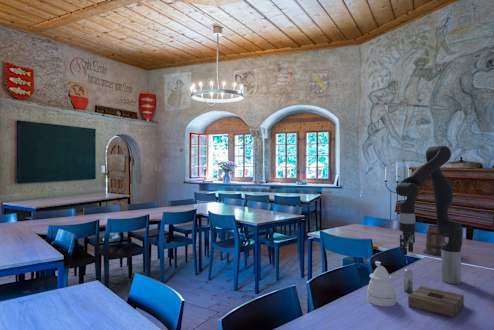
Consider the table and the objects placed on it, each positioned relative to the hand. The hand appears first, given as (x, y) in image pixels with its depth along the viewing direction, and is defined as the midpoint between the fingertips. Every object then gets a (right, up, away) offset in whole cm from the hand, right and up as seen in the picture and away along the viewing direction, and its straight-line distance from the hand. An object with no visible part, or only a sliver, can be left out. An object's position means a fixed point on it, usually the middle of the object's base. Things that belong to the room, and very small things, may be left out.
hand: (407, 253), depth 176 cm
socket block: (+4, -19, -19) cm, 27 cm away
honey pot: (-18, -20, -12) cm, 29 cm away
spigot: (0, -19, 0) cm, 19 cm away
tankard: (+58, -19, +75) cm, 97 cm away
